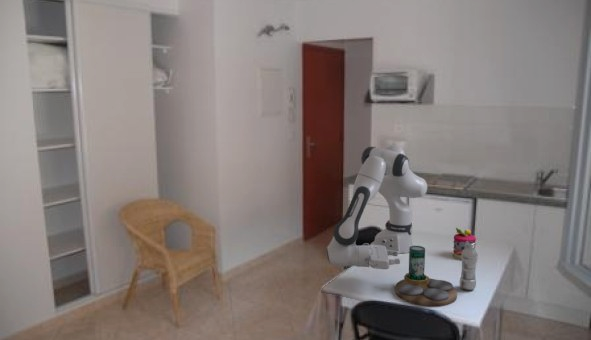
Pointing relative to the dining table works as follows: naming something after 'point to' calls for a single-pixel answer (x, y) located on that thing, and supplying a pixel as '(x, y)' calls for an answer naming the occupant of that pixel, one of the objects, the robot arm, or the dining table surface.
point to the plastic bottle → (468, 266)
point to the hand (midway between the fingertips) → (398, 257)
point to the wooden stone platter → (426, 291)
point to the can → (416, 263)
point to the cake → (461, 242)
